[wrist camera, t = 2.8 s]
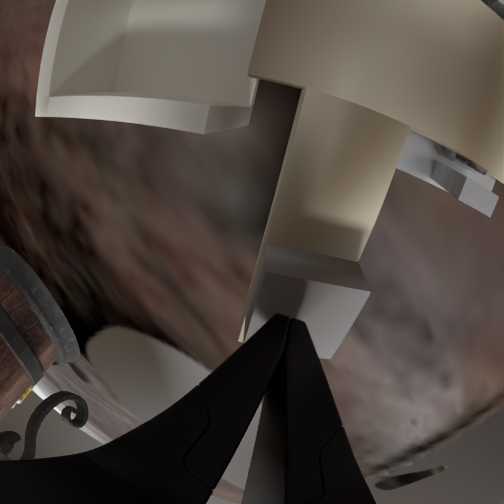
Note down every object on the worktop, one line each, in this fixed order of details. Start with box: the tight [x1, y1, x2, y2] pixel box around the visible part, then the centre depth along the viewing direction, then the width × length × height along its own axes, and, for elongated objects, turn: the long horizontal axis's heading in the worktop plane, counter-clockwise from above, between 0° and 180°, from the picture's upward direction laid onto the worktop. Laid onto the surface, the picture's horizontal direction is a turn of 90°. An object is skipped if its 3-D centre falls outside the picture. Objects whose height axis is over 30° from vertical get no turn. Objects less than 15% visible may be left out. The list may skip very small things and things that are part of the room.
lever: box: [238, 0, 504, 359], centre depth 7 cm, size 16×15×2 cm
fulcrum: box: [396, 0, 504, 217], centre depth 6 cm, size 5×9×3 cm, turn 167°
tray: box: [35, 0, 266, 135], centre depth 7 cm, size 8×10×4 cm
